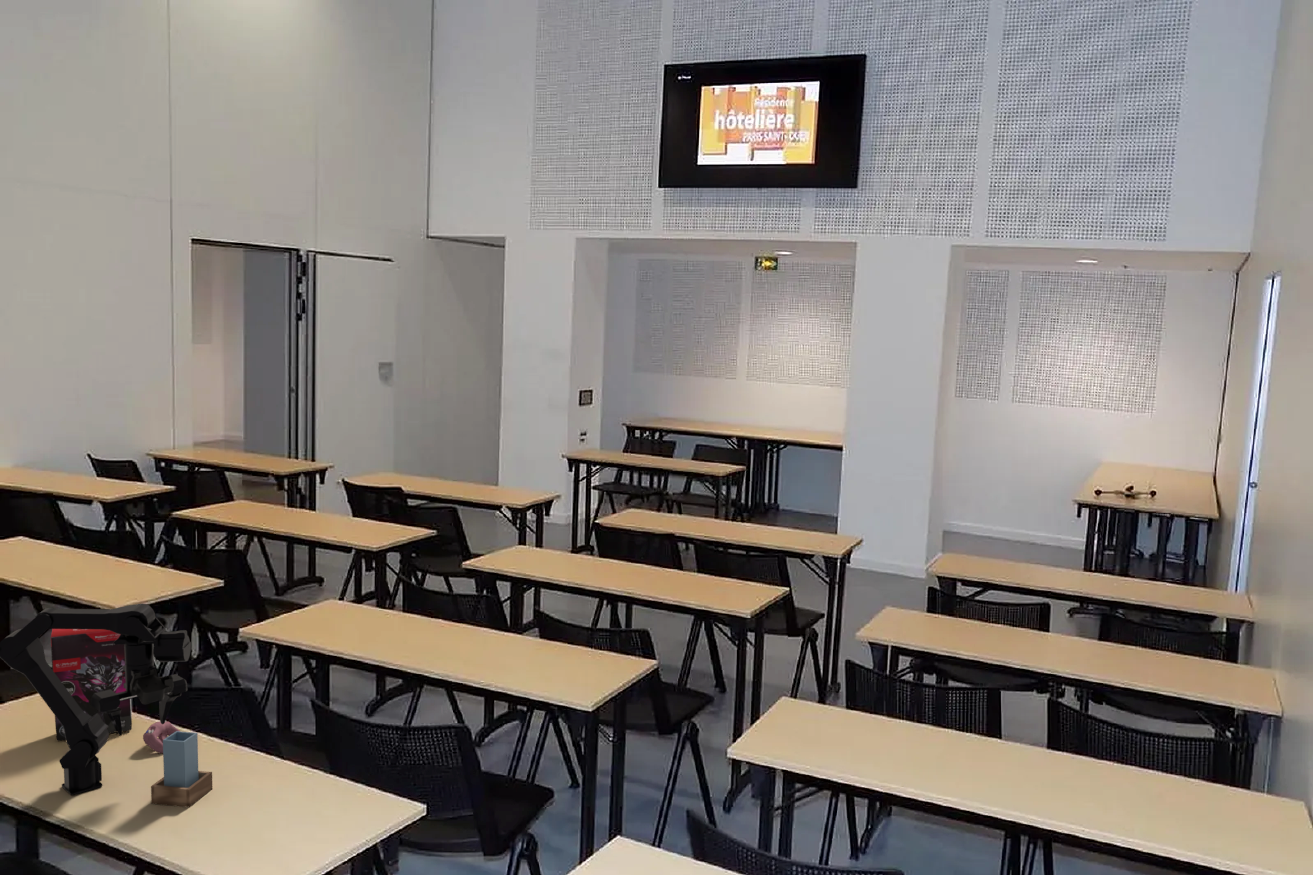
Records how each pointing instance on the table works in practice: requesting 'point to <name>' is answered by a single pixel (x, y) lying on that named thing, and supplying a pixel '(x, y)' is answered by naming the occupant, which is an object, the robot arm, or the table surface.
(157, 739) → the video game controller
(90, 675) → the graphics card box
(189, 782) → the tall slate-blue crate
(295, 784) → the table surface
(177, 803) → the walnut crate
